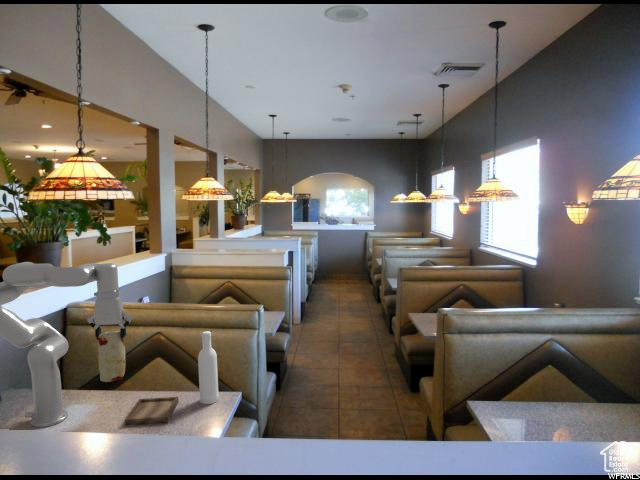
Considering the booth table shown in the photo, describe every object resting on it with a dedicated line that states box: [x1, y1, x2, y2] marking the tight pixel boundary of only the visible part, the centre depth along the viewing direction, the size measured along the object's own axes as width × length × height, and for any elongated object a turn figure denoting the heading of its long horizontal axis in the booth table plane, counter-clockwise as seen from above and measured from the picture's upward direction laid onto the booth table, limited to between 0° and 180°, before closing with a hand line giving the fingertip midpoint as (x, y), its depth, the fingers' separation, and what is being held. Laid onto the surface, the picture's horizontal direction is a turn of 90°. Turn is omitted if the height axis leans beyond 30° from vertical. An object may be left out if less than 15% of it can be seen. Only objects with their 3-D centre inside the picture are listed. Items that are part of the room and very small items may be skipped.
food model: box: [97, 330, 126, 383], centre depth 175 cm, size 10×7×20 cm
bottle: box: [197, 330, 220, 405], centre depth 188 cm, size 8×8×30 cm
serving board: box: [124, 396, 179, 427], centre depth 178 cm, size 16×18×2 cm
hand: (111, 337), depth 174 cm, fingers closed on food model, 8 cm apart
